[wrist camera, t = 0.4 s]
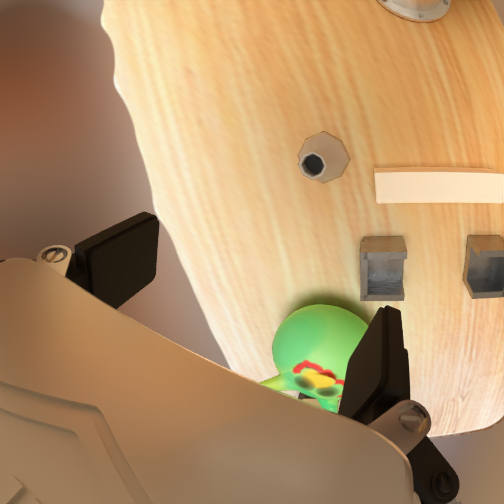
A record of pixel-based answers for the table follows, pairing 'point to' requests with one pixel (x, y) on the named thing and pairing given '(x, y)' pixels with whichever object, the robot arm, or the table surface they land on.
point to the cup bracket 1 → (382, 268)
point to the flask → (323, 157)
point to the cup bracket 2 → (484, 266)
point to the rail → (438, 185)
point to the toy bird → (316, 352)
